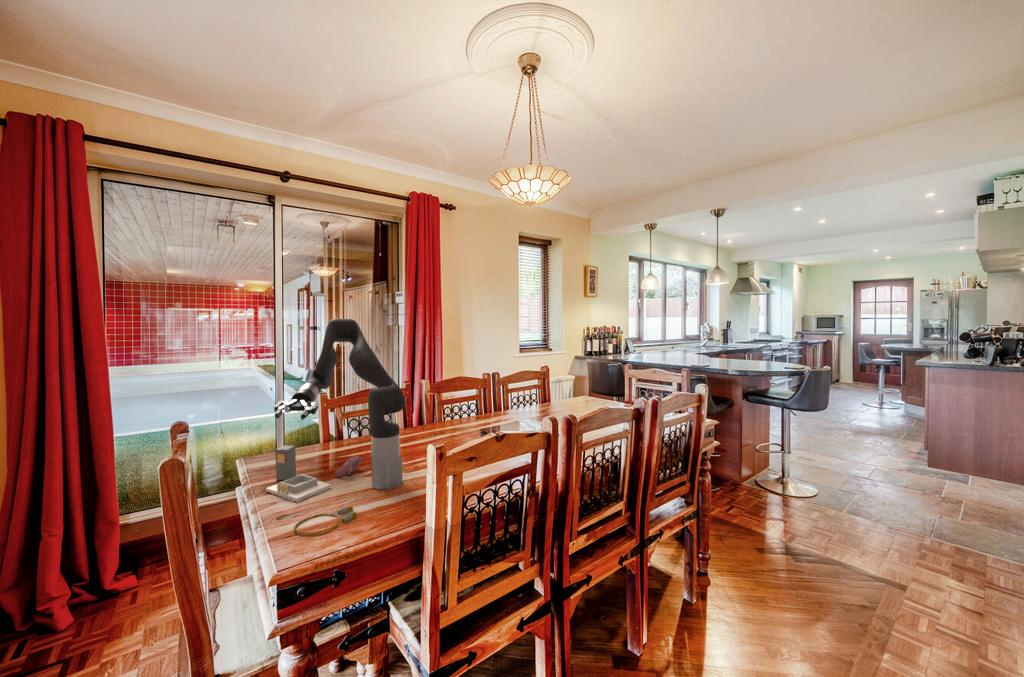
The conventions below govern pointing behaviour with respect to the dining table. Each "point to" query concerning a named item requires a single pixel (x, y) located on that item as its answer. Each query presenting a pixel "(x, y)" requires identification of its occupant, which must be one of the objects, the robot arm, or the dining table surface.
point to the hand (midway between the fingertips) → (289, 416)
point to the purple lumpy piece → (349, 466)
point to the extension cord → (341, 511)
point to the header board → (298, 487)
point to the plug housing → (285, 462)
